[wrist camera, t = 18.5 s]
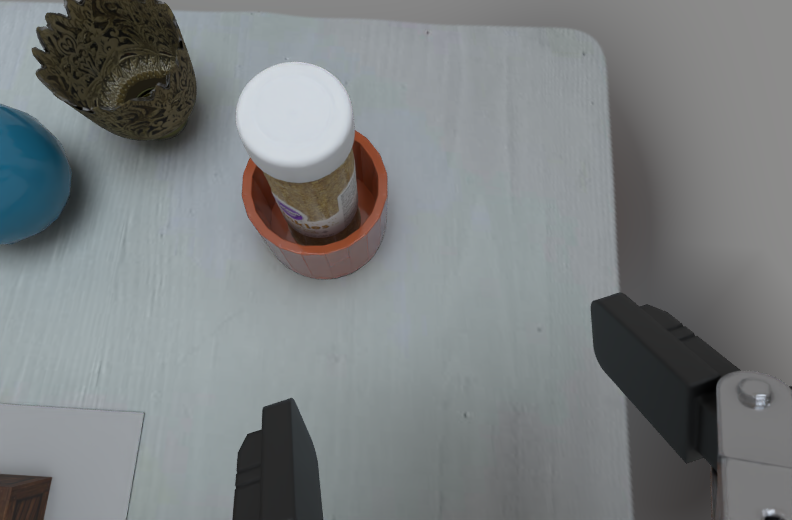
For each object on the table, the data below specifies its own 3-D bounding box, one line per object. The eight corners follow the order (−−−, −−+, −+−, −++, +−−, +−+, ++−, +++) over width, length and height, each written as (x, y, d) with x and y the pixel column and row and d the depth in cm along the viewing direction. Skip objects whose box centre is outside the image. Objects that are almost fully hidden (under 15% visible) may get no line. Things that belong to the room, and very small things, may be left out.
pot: (364, 151, 35) (361, 103, 29) (401, 257, 34) (406, 228, 28) (251, 184, 34) (226, 141, 29) (283, 295, 33) (263, 273, 27)
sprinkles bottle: (277, 241, 33) (213, 141, 20) (304, 176, 34) (259, 42, 21) (347, 265, 33) (328, 180, 20) (372, 199, 34) (369, 77, 21)
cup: (238, 87, 36) (200, 3, 28) (196, 185, 34) (143, 123, 27) (135, 56, 36) (69, -35, 29) (87, 151, 35) (4, 81, 27)
